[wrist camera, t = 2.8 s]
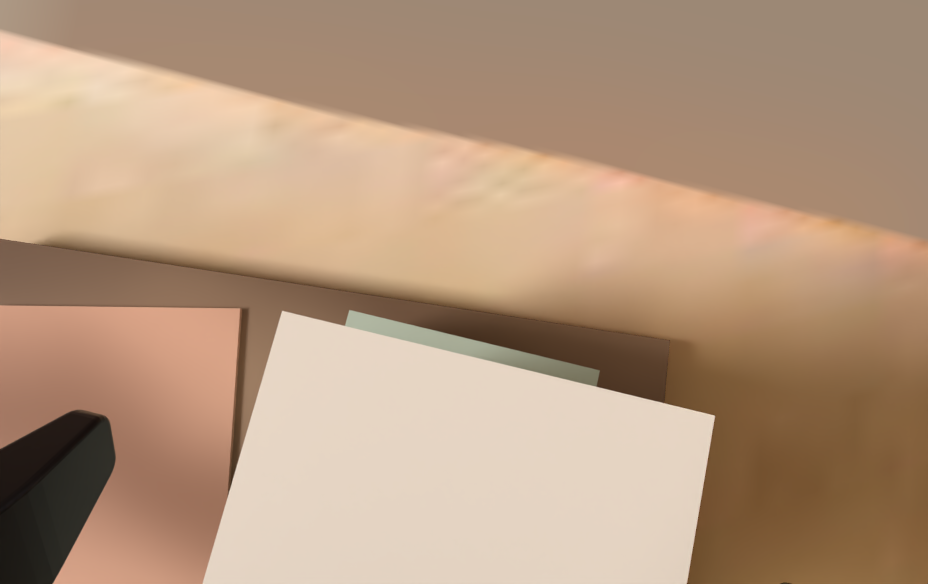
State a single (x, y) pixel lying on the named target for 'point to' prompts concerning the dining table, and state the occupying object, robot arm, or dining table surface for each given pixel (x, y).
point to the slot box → (472, 348)
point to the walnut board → (201, 383)
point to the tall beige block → (452, 472)
